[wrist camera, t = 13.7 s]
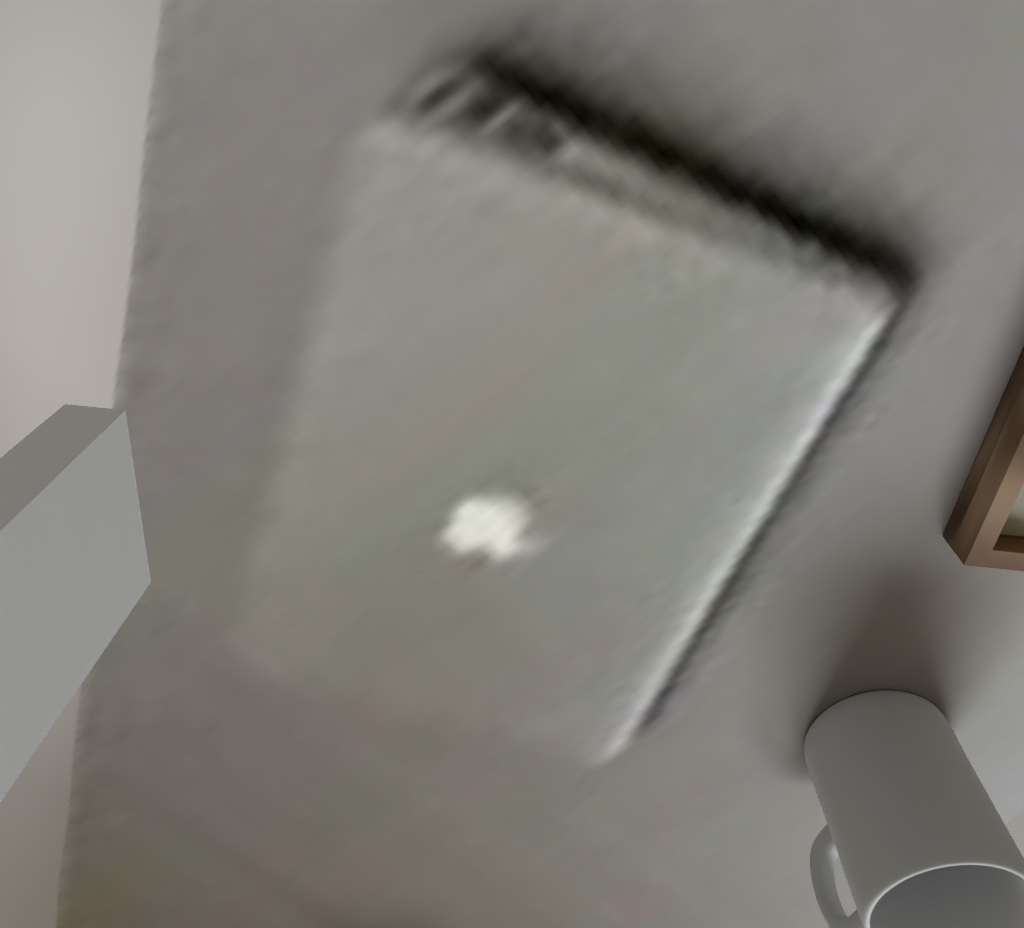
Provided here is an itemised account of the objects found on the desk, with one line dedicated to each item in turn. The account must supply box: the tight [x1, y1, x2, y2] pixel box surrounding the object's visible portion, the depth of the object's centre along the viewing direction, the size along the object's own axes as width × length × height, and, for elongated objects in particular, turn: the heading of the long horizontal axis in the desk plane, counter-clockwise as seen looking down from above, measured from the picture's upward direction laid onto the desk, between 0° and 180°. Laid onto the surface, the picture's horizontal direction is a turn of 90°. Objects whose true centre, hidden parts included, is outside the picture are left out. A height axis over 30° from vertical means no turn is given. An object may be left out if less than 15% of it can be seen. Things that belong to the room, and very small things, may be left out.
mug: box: [804, 690, 1024, 928], centre depth 46 cm, size 12×8×11 cm
